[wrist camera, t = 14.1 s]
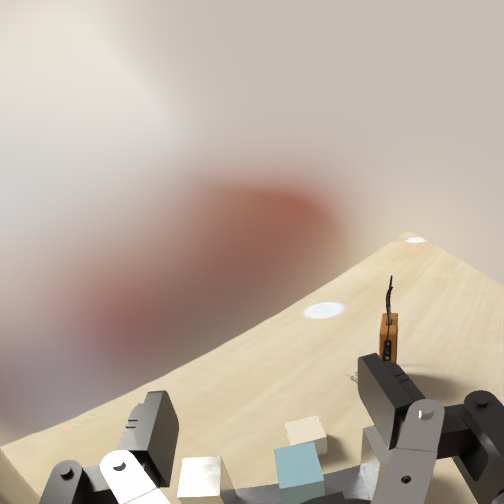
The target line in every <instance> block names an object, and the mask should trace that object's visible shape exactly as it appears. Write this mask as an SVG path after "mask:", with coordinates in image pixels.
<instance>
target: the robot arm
mask: <svg viewBox="0 0 504 504" xmlns="http://www.w3.org/2000/svg"><path fill="white" fill-rule="evenodd" d="M358 391H359V395H360V398H361V400H362V402H363V404H364V406H365V407H366V409H367V411H368V413H369V415H370V417H371V418H372V420H373V422H374V424H375V426H376V428H377V429H378V431H379V433H380V435H381V437H382V439H383V441H384V442H385V444H386V446H387V448H388V450H392V449H393V451H392V454H391V456H390V459H389V461H388V464H387V466H386V469H385V471H384V474H383V476H382V478H381V481H380V483H379V485H378V488H377V490H376V492H375V494H374V497H373V499H372V501H371V500H366V499H359V498H344V495H343V492H342V491H341V492H337V493H333V494H329V495H325V496H321V497H316V498H312V499H310V500H307V501H305V502H303V503H300V504H424V501H425V498H426V494H427V491H428V488H429V484H430V481H431V477H432V474H433V470H434V466H435V462H436V459H442V458H448V457H452V459H453V461H454V462H455V464H456V466H457V467H458V469H459V471H460V472H461V474H462V476H463V478H464V479H465V481H466V483H467V485H468V486H469V488H470V490H471V492H472V493H473V495H474V497H475V499H476V500H477V502H478V504H504V406H503V405H502V403H501V402H500V401H499V400H498V399H497V398H496V397H495V396H494V395H493V394H492V393H490V392H488V391H483V390H479V391H474V392H471V393H470V394H468V395H467V396H466V398H465V400H464V404H459V405H453V406H446V407H443V405H442V404H441V403H440V402H438V401H436V400H433V399H426V398H425V397H424V396H423V394H422V393H421V392H420V391H419V389H418V388H417V387H416V386H415V385H414V383H413V382H412V381H411V380H410V379H409V377H408V376H407V375H406V374H405V372H404V371H403V370H402V369H401V367H400V366H399V365H397V364H395V363H393V362H391V361H386V362H383V361H382V360H381V358H380V357H379V356H378V354H377V353H373V354H369V355H366V356H362V357H359V358H358ZM178 432H179V422H178V418H177V415H176V413H175V410H174V408H173V405H172V403H171V400H170V398H169V395H168V393H167V392H166V391H153V392H148V393H147V396H146V399H145V401H144V403H143V404H138V405H137V406H136V407H135V408H134V409H133V410H132V411H131V414H130V416H129V419H128V422H127V424H126V428H125V430H124V432H123V435H122V438H121V441H120V443H119V446H118V449H117V451H116V452H113V453H111V454H109V455H107V456H106V457H105V458H104V459H103V461H102V463H101V465H98V466H93V467H87V468H82V466H81V465H80V464H79V463H78V462H77V461H74V460H65V461H62V462H60V463H58V464H57V465H56V466H55V467H54V468H53V470H52V472H51V475H50V477H49V479H48V482H47V484H46V487H45V489H44V492H43V494H42V497H41V498H40V496H39V495H38V494H37V493H36V492H35V491H34V490H33V489H32V487H31V486H30V485H29V484H28V483H27V482H26V481H25V479H24V478H23V477H22V476H21V475H20V473H19V472H18V471H17V470H16V468H15V467H14V466H13V465H12V463H11V462H10V461H9V459H8V458H7V457H6V455H5V454H4V453H3V451H2V450H1V449H0V504H170V503H169V502H168V501H167V499H166V498H165V497H164V496H163V494H162V493H161V492H160V491H159V488H160V487H169V486H170V479H171V473H172V467H173V461H174V455H175V449H176V444H177V438H178Z"/></svg>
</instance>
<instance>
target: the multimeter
mask: <svg viewBox="0 0 504 504" xmlns="http://www.w3.org/2000/svg"><path fill="white" fill-rule="evenodd" d="M391 285H392V276H391V279H390V285H389V290H388V292H387V295H386V308H387V313H383V315H382V322H381V328H380V347H379V357H380V358H381V360H382V361H383V362H386V361H391V362H393V363H395V364H396V358H397V334H398V326H397V325H398V314H397V313H391V308H390V294H391V290H392V288H393V287H391ZM356 373H358V371H357V372H356ZM356 373H355V374H356ZM346 374H347V373H346ZM347 375H348V374H347ZM348 376H350V375H348ZM350 378H351V379H353V380H354V381H356V382H357V383H358V380H357V379H356V378H354V377H353V376H350Z"/></svg>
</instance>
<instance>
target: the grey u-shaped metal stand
mask: <svg viewBox="0 0 504 504" xmlns="http://www.w3.org/2000/svg"><path fill="white" fill-rule="evenodd" d="M392 451H393V449H392V450H388V448H387V446H386V444H385V442H384V441H383V439H382V437H381V435H380V433H379V431H378V429H377V428H376V426H375V425H374V426H370V427H367V428H364V429H363V437H362V452H361V464H360V465H359V466H355V467H352V468H348V469H344V470H341V471H337V472H333V473H329V474H324V475H323V477H324V486H325V495H329V494H333V493H337V492H341V491H342V492H343V495H344V498H359V499H366V500H371V501H372V499H373V497H374V494H375V492H376V490H377V488H378V485H379V483H380V481H381V478H382V476H383V474H384V471H385V469H386V466H387V464H388V461H389V459H390V456H391V454H392ZM178 498H179V500H180V501H181V503H182V504H283V501H282V497H281V492H280V488H279V484H273V485H266V486H258V487H250V488H241V489H234V487H233V485H232V482H231V480H230V477H229V475H228V473H227V470H226V468H225V465H224V463H223V460H222V458H221V456H214V457H201V458H183V463H182V470H181V477H180V484H179V490H178Z"/></svg>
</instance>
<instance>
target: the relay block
mask: <svg viewBox="0 0 504 504" xmlns="http://www.w3.org/2000/svg"><path fill="white" fill-rule="evenodd" d="M285 426H286V432H287V438H288V442H289V445H290V446H295V445H300V444H305V443H309V442H314V445H315V449H316V452H317V456H318V455H321V454H325V453H328V452H327V436H326V434H325V431H324V429H323V427H322V424H321V422H320V420H319V417H318V415H316V416H312V417H308V418H304V419H300V420H296V421H292V422H288V423H285Z"/></svg>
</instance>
